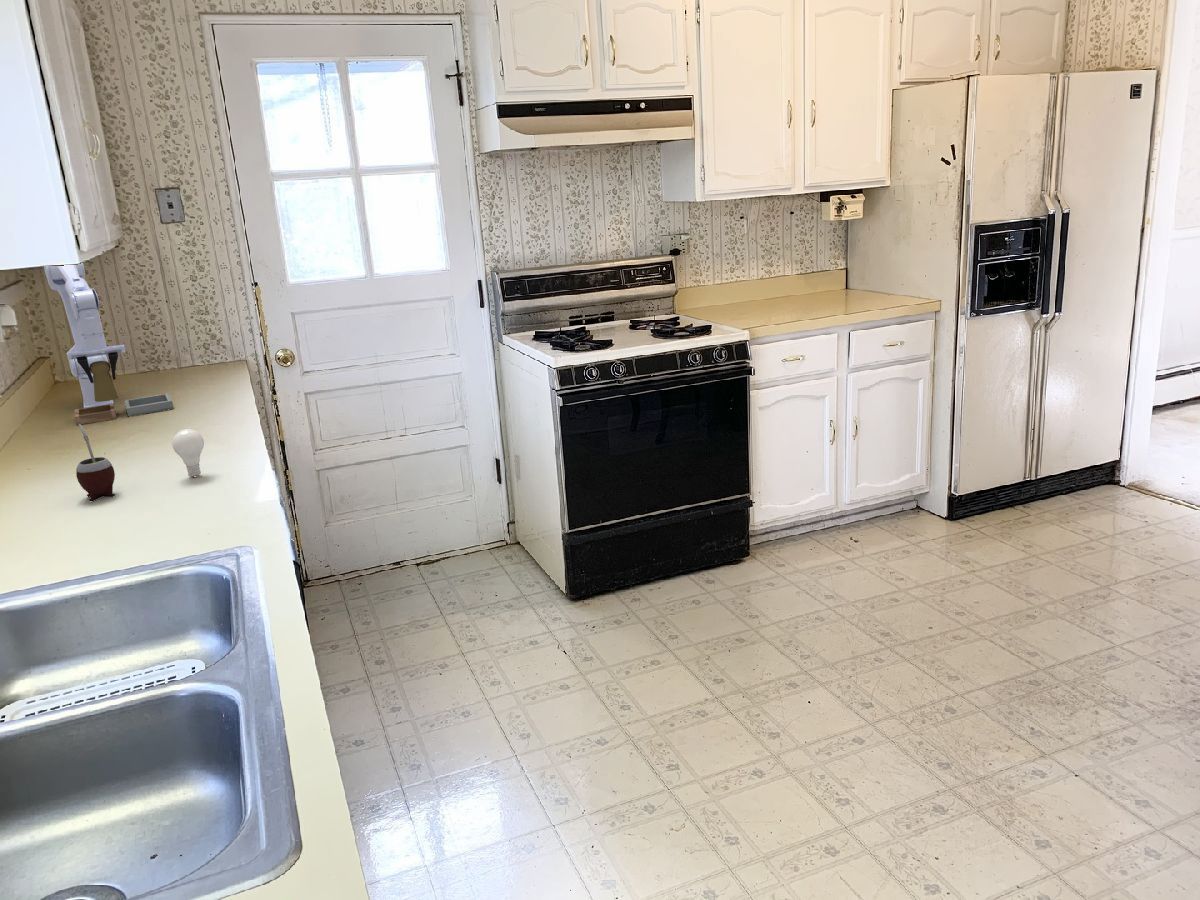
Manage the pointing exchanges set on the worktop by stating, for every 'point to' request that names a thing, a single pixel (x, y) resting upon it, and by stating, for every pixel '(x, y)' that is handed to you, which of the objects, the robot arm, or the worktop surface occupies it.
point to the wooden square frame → (95, 414)
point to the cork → (102, 382)
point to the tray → (148, 404)
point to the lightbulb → (189, 449)
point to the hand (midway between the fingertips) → (103, 380)
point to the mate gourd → (95, 474)
